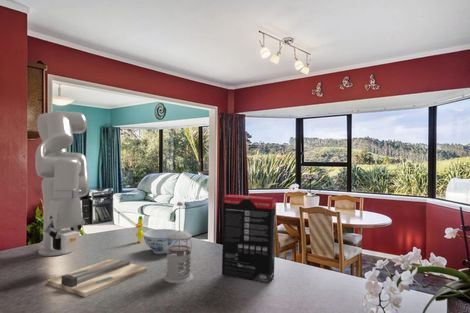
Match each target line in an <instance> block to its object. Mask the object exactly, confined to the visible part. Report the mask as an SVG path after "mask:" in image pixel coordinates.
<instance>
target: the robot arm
mask: <svg viewBox="0 0 470 313" xmlns="http://www.w3.org/2000/svg"><path fill="white" fill-rule="evenodd" d="M36 125H37V130H38V134H39V137H40V139H41V141H42V142H41V143H40V144H39V145H38V146H37V148H36V150H35V151H36V152H35V154H34V155H35V172H36V174H37V176H38V177H40V178H43V179H42V181H41V192H42V193H41V194H42V198H43V225H42V226H43V227H42V228H43V229H42V232H43V234H42V236H43V237H42V238H43V239H42V241H40V245H42V248H40V249H39V250H38V255H39V256H43V257H54V256H62V255H66V254H69V253H71V252H69V253H62V249H63V248H61V238H59V236H60V233H61V229H69V230H72V231H76V232H79V233H80V230H81V229H82V228H83V227H84V225H85V224H86V220H85V219H84V218H83V216H82V215H83V212H82V202H81V197H85V196H87V195H88V194H89V192H90V179H89V169H88V160H87V157H86V156H85V154H83V153H81V152H68V148H70V146H72V144H73V143H74V136H73V134H83V133H85V132H86V130H87V127H88V122H87V118H86V115H84V114H83V112H77V111H68V110H67V111H64V110H55V111H51V112H45V113H41V114H40V115H38V117H37V120H36ZM51 237H52V238H53V249H55V250H52V249H51Z"/></svg>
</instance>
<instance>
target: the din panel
mask: <svg viewBox="0 0 470 313" xmlns="http://www.w3.org/2000/svg"><path fill="white" fill-rule="evenodd" d="M144 271H145V272H147V271H148V267H147V266H142V265H139V264H135V263H134V264H133V263H131V262H130V260H126V259H121V260H117V259H114V258H109V259H107V260H103V261H99V262H97V263H94V264H92V265H89V266H88V265H87V266H85V267H82V268H79V269H76V270H73V271H70V272H67V273H65V274H61V275H57V276H56V277H53V278H50V279H46V280H47V281H46V284H47V285H48V286H49V285H50V286H53V287H55V288H57V289H58V288H59V289H60V290H64V291H67V292H69V293H72V294H75V295H78V296H81V297H82V298H83V297H84V298H86V297H89V296H91V295H94V294H96V293H98V292H101V291H102V290H106V289H107V288H110V287H112V286H114V285H117V284H119V283H121V281H122V282H125V281H126V279H127V280H129V279H131V278H133V277H132V276H134V277H136V276H138V275H141V274H143V273H145V272H144ZM142 272H143V273H142ZM140 273H141V274H140ZM137 274H138V275H137ZM135 275H136V276H135ZM130 277H131V278H130ZM128 278H129V279H128Z"/></svg>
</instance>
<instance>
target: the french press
mask: <svg viewBox="0 0 470 313" xmlns="http://www.w3.org/2000/svg"><path fill="white" fill-rule="evenodd" d="M183 205H184V204H183V202H182V201H178V202H177V203H176V206H177V207H179V215H178V216H179V217H178V218H179V219H178V222H179V223H178V230H177V231H175V232H172V233H170V234H169V235H167V238H168V239H170V240H178V244H176V245H174V246H171V247H169V248H168V250H169V252H167V253H166V274H165V275H164V276H163V281H165V282H166V281H167V283H169V284H170V283H171V284H183V283H187V282H190V281H193V279H194V275H193V273H191V264H192V261H191V255H192V253H191V252H192V249H191V246H188V245H185V244H188V240H189V241H190V243H192V241H191V238H192V236H193V235H192V234H191V233H189V232H187V231H185V230H180V229H181V206H183ZM180 241H183V242H185V244H184V245H183V244H180V243H181V242H180ZM171 254H175V255H171Z"/></svg>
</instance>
